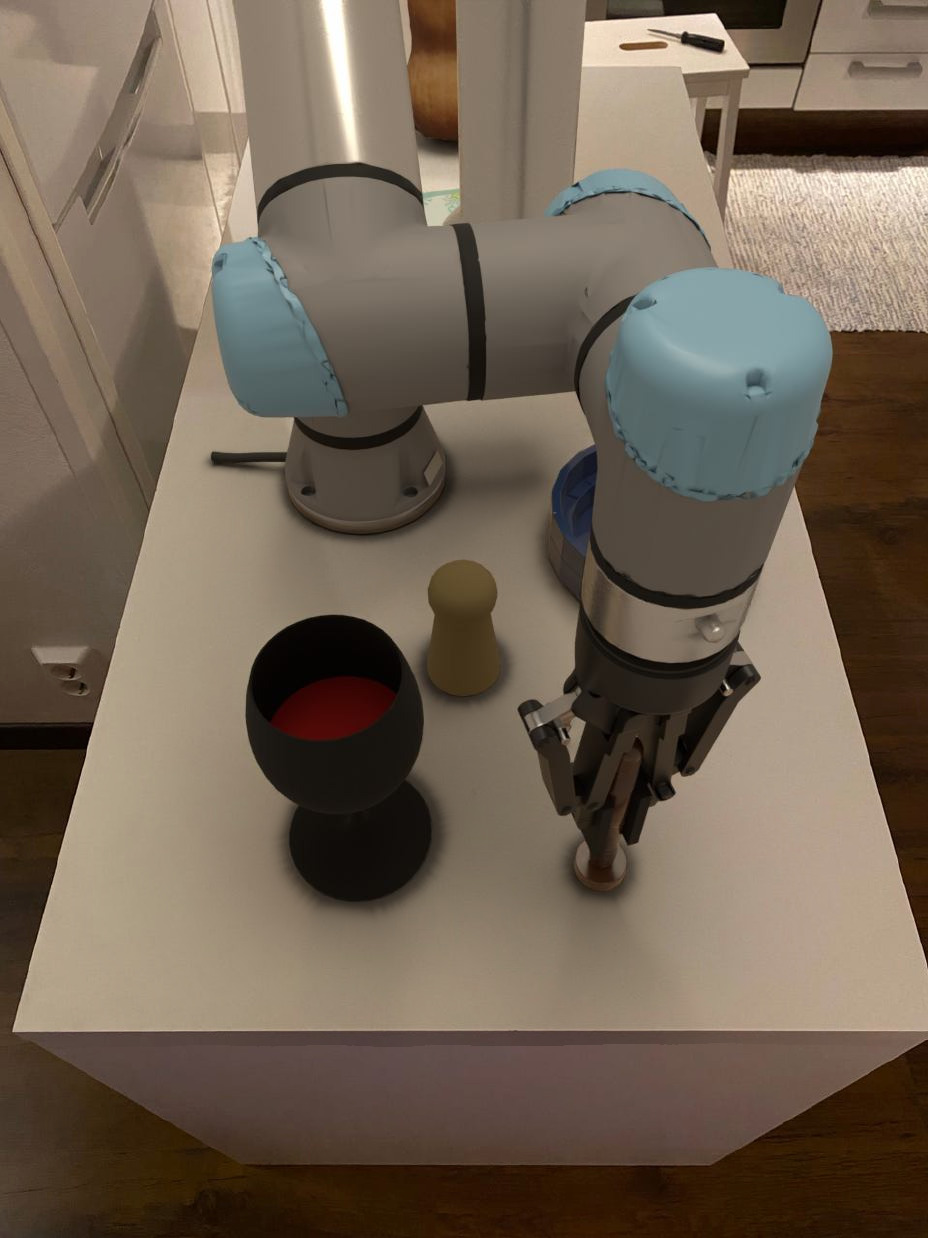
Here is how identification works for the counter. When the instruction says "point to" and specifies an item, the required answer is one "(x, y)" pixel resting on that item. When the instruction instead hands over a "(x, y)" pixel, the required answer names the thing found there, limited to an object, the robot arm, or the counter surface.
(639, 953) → the counter surface
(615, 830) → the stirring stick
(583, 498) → the bowl
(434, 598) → the cork
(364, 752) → the wine glass
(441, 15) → the butternut squash
